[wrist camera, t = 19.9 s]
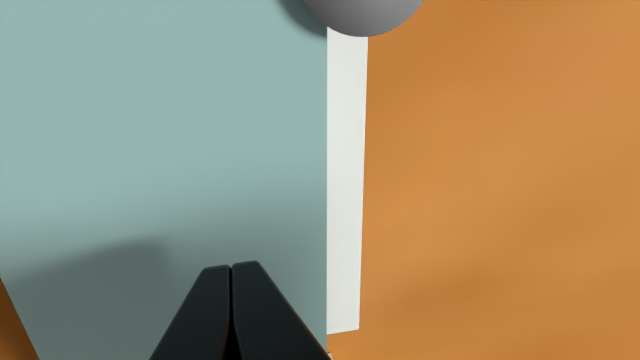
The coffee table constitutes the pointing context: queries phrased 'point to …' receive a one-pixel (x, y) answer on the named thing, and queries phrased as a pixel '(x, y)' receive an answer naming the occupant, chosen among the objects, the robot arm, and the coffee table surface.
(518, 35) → the coffee table surface
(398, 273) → the coffee table surface
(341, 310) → the channel
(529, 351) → the coffee table surface
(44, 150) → the cover
